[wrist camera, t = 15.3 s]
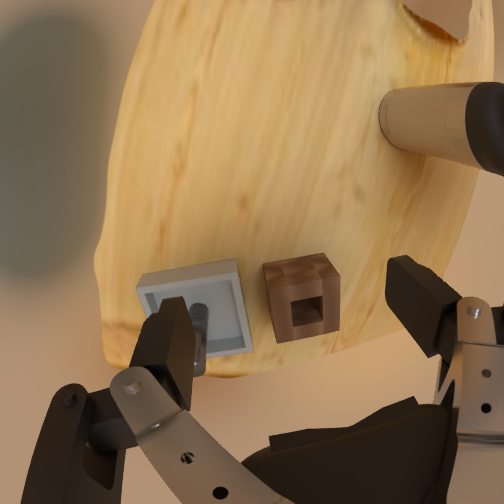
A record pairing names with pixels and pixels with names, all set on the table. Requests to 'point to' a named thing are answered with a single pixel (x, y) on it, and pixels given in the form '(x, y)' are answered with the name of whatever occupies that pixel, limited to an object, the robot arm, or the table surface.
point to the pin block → (303, 297)
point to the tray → (205, 301)
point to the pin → (200, 336)
